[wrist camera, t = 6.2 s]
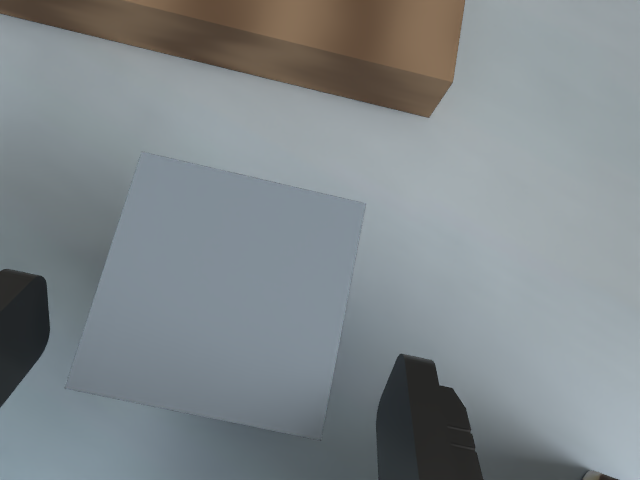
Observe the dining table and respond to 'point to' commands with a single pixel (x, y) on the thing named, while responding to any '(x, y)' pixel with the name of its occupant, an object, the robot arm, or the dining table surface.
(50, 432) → the dining table surface
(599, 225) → the dining table surface
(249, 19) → the wooden board
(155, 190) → the slate block
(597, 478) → the coffee box
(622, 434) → the dining table surface
